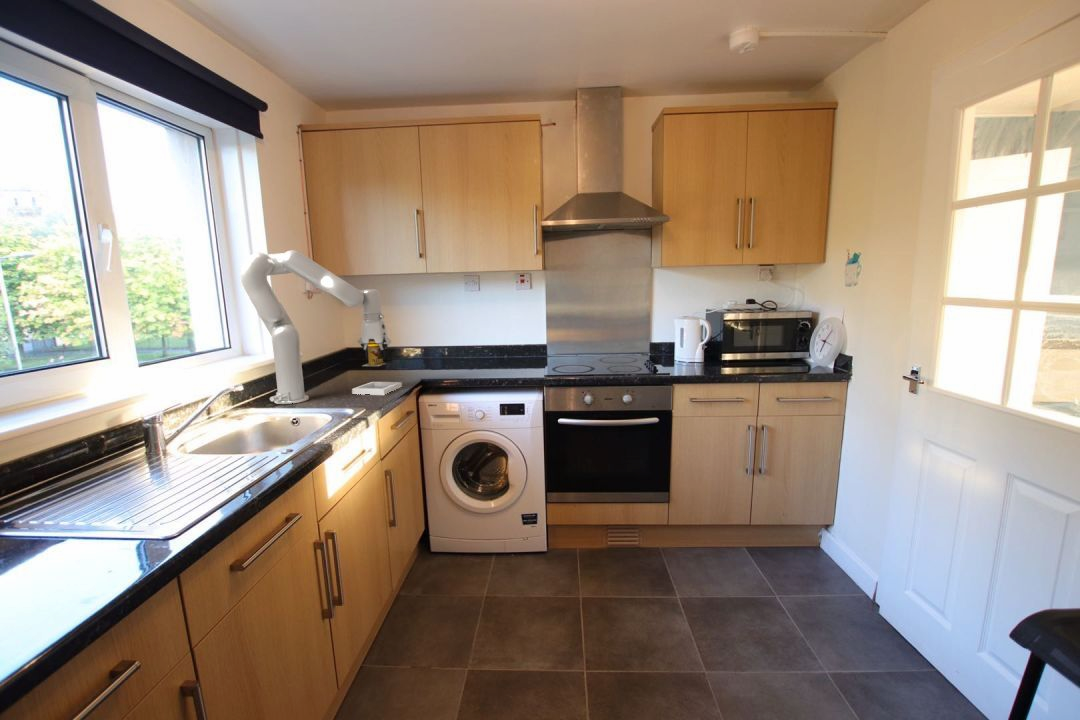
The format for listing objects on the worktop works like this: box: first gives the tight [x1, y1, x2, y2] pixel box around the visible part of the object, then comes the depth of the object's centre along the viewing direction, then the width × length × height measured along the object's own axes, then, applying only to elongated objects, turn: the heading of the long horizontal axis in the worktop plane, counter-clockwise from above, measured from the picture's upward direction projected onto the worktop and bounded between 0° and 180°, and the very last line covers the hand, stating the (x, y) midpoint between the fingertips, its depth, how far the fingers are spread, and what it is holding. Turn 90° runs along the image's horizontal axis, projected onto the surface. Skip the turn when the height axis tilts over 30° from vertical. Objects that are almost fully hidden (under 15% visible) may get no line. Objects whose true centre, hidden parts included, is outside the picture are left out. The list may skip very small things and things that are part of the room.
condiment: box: [362, 339, 387, 367], centre depth 204 cm, size 7×8×12 cm
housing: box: [351, 381, 403, 396], centre depth 206 cm, size 16×15×2 cm
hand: (375, 358), depth 204 cm, fingers closed on condiment, 6 cm apart
